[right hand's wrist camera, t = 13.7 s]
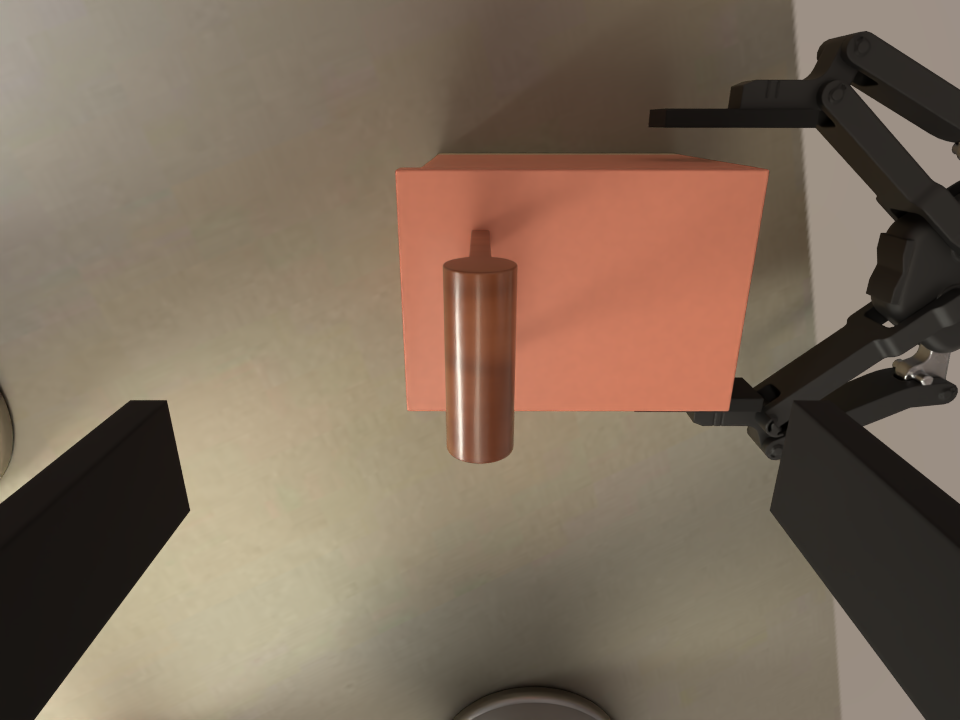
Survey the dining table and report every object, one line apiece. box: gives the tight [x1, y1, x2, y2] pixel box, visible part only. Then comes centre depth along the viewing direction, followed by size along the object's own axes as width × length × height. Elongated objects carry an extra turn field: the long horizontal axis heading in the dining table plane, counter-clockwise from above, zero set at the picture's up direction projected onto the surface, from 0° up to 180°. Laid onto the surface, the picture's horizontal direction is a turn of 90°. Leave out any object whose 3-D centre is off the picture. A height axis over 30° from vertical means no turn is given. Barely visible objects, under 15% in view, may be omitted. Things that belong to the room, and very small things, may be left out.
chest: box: [421, 153, 756, 168], centre depth 30 cm, size 13×10×11 cm
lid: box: [395, 168, 769, 463], centre depth 21 cm, size 14×10×9 cm
